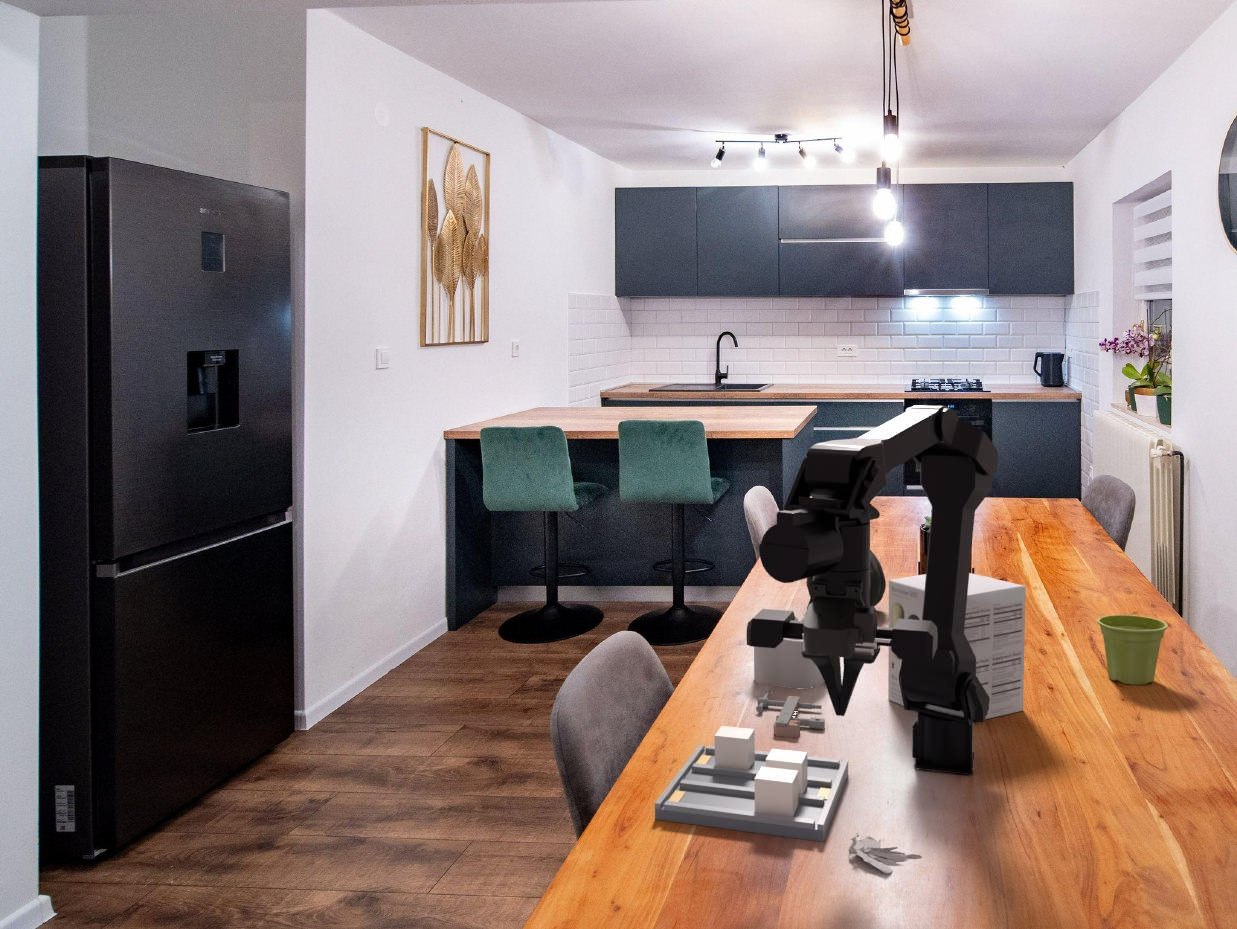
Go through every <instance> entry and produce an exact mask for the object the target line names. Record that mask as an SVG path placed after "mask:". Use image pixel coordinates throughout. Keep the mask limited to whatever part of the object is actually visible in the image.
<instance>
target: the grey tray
mask: <svg viewBox="0 0 1237 929" xmlns="http://www.w3.org/2000/svg"><path fill="white" fill-rule="evenodd" d="M705 745H706V744H699V745H698V746H697V748H696V749H695V750H694V751H693V753H692V754H691V755H690V756H689V758H688V759H687V760H686V762H685V763H684V765H683V766H682V767H681V769H680V770H679V771H678V772H677V774H676V775H675V776H674V777H673V779H672V780H671V782H670V783H669V784H668V785H667V787H666V788H665V789H664V791H662V793H661V794H660V796H659V797H658V798H657V800H656V801H655V802H654V819H655V820H657V821H665V822H666V821H667V822H672V823H680V824H687V825H696V826H701V827H702V826H703V827H709V828H719V829H726V830H732V831H733V830H734V831H740V832H748V833H755V834H763V835H770V836H776V837H778V836H779V837H785V838H793V839H800V840H808V841H814V842H815V841H816V842H824V841H825V839H826V836H827V834H828V830H829V828H830V826H831V822H832V820H833V817H834V814H835V811H836V810H837V807H836V806H838V804H839V801H840V799H839V798H841V795H842V793H843V791H844V787H845V785H846V783H847V780H846V779H848V777H849V760H848V759H843V760H842V762H841V763H840V761H841V760H840V759H839V758H830V757H820V756H810V755H807V787H806V789H805V791H804V794H800V793H798V807H797V809H796V811H795V813H794V816H793V817H791V816H784V815H776V814H768V813H760V812H755V782H754V778H755V777H756V775H757V773H758V772H759V770H760V768H761V766H762V767H766V758H767V756H768V754H769V753H770V751H764V750H755V761H754V762H753V764H752V766H751V767H750V769H741V768H732V767H723V766H715V745H709V744H708V745H707V746H706V747H705ZM845 782H846V783H845ZM844 784H845V785H844ZM842 790H843V791H842Z"/></svg>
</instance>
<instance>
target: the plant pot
mask: <svg viewBox="0 0 1237 929" xmlns="http://www.w3.org/2000/svg"><path fill="white" fill-rule="evenodd" d="M1096 622H1097V625H1099V627H1100V632H1101V634H1102V637H1103V643H1104V644H1103V645H1104V652H1105V658H1106V659H1105V660H1106V668H1107V676H1108V678H1109V679H1110V680H1112V681H1119V682H1120V683H1122V684H1125V685H1138V686H1142V685H1147V683H1154V682H1155V675H1156V669H1157V665H1158V659H1159V652H1160V648H1161V643H1162V639H1163V638H1164V636H1165V631H1166V630H1167V629H1168V628H1169V625H1168V623H1166V622H1165V621H1163V620H1161V619H1158V618H1155V617H1154V618H1153V617H1149V616H1142V615H1134V614H1133V615H1132V614H1111V615H1109V614H1108V615H1104V616H1100V617H1099V618H1097V619H1096Z"/></svg>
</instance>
